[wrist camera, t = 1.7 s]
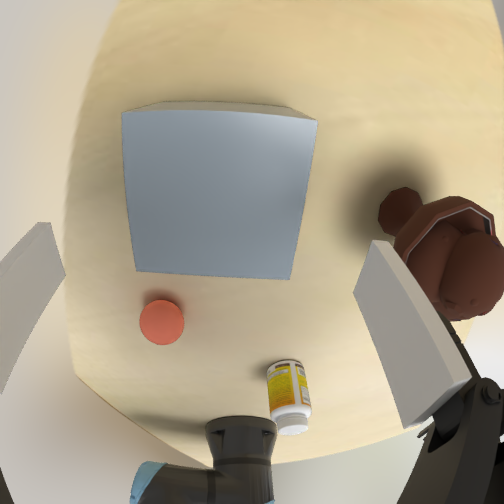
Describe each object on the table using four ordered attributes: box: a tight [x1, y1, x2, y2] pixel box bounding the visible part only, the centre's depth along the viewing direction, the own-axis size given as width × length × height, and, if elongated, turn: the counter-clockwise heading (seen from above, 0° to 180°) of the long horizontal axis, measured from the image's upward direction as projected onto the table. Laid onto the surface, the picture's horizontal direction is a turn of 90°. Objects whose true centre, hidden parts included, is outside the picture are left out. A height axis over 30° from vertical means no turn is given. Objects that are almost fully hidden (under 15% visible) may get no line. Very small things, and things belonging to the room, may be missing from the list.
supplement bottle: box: [267, 360, 312, 435], centre depth 35 cm, size 6×6×10 cm
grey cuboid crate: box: [122, 101, 318, 280], centre depth 19 cm, size 10×10×9 cm
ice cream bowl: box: [378, 187, 504, 322], centre depth 20 cm, size 11×11×15 cm
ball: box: [140, 300, 184, 345], centre depth 30 cm, size 5×5×5 cm
